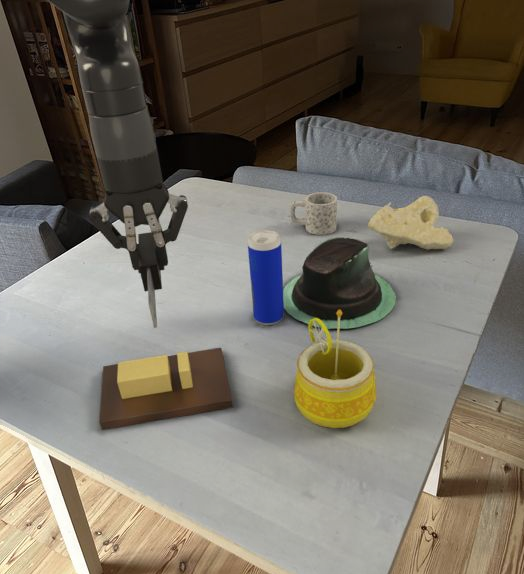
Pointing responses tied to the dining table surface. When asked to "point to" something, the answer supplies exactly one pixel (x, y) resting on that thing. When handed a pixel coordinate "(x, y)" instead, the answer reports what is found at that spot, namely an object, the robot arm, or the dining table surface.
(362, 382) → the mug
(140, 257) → the knife
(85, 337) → the dining table surface
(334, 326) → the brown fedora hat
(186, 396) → the board
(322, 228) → the mug
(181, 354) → the butter slice
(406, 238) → the cheese
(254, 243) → the beverage can
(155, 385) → the butter block
